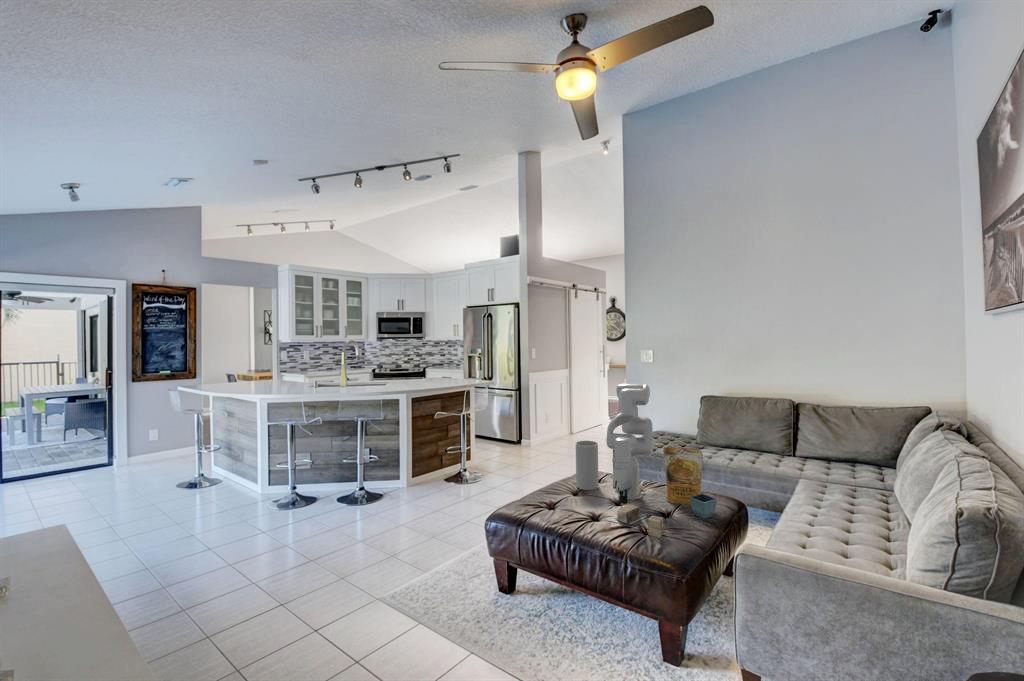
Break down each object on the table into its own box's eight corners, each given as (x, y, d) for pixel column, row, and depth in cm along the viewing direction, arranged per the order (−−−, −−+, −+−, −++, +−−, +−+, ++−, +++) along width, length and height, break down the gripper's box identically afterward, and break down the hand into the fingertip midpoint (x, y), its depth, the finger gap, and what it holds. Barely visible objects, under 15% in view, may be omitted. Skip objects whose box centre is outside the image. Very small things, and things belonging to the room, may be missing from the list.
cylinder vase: (580, 491, 268) (579, 446, 267) (573, 484, 280) (572, 441, 279) (601, 489, 270) (601, 445, 269) (593, 482, 282) (593, 439, 281)
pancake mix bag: (664, 498, 255) (663, 445, 254) (702, 502, 248) (702, 448, 247) (663, 502, 249) (662, 448, 248) (703, 506, 242) (702, 451, 241)
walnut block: (617, 519, 228) (630, 514, 234) (626, 523, 224) (639, 517, 231) (617, 509, 228) (630, 503, 234) (626, 512, 224) (639, 506, 230)
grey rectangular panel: (631, 511, 238) (631, 511, 238) (646, 517, 231) (646, 516, 231) (614, 518, 230) (614, 518, 230) (630, 524, 223) (630, 524, 223)
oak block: (652, 530, 216) (652, 515, 216) (663, 533, 213) (663, 517, 213) (648, 535, 212) (648, 519, 212) (659, 537, 209) (659, 521, 209)
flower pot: (704, 521, 225) (704, 502, 224) (689, 515, 233) (689, 496, 232) (717, 517, 229) (717, 499, 228) (702, 511, 237) (702, 493, 236)
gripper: (626, 459, 234) (627, 497, 235) (606, 466, 224) (607, 505, 225) (639, 462, 228) (640, 501, 229) (619, 469, 219) (620, 509, 219)
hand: (623, 503), depth 227 cm, fingers closed
